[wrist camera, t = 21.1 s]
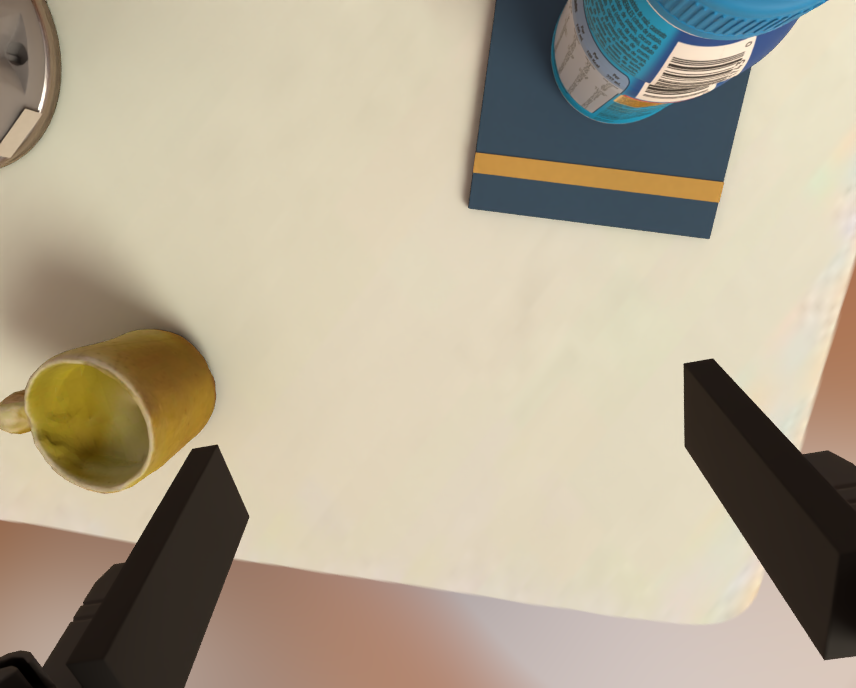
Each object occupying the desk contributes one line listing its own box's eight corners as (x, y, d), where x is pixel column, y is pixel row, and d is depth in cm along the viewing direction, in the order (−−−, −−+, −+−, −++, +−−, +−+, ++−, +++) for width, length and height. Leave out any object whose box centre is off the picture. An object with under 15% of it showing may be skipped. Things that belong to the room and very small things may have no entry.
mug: (231, 320, 39) (117, 405, 31) (242, 435, 45) (148, 532, 37) (85, 276, 42) (-54, 344, 34) (112, 389, 48) (-2, 470, 40)
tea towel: (518, -159, 33) (518, -166, 32) (796, -136, 32) (803, -143, 31) (468, 208, 38) (468, 208, 37) (706, 238, 37) (710, 239, 36)
